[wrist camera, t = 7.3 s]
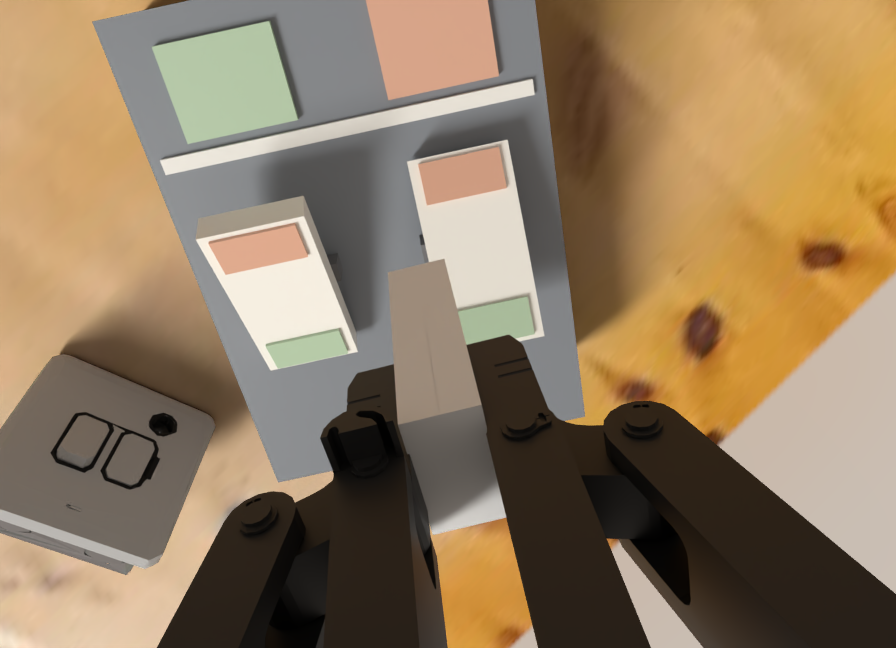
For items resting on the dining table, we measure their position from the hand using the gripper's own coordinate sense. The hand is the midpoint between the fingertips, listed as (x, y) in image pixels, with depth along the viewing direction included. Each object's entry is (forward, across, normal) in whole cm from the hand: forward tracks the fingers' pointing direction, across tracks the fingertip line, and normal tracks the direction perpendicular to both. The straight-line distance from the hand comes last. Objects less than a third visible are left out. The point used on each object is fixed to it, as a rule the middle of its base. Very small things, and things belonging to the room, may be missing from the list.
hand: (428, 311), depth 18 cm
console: (+18, -2, -3) cm, 18 cm away
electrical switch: (+18, -19, -11) cm, 29 cm away
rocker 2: (+10, +2, -3) cm, 10 cm away
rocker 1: (+10, -6, -3) cm, 12 cm away
